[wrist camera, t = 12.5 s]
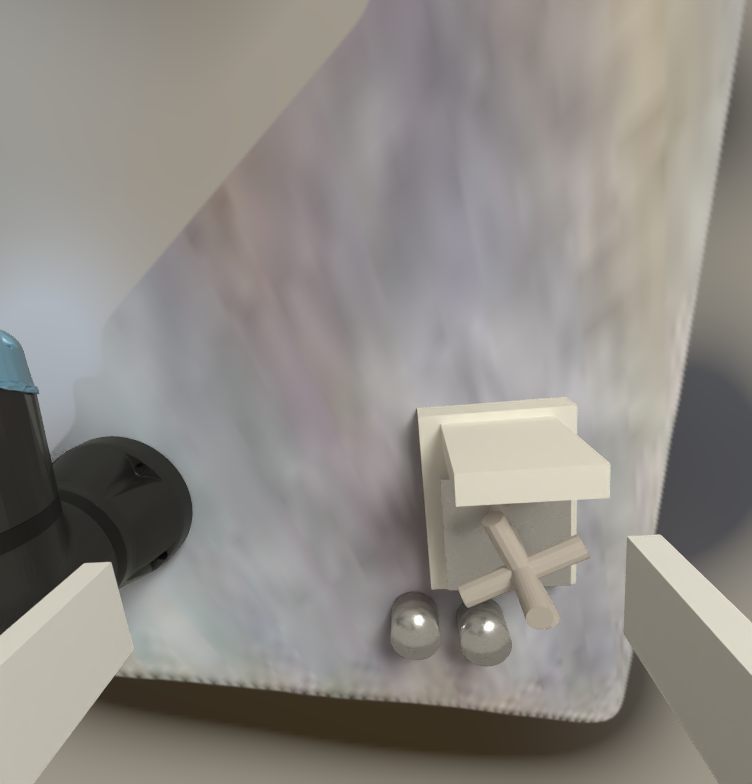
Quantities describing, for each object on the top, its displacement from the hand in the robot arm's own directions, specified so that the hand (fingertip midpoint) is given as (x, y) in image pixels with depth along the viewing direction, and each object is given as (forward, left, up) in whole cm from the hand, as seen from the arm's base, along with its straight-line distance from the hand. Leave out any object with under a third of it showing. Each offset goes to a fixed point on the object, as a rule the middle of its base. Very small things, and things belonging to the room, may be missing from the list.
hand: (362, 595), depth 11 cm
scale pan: (+9, -14, -27) cm, 32 cm away
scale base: (+9, -13, -32) cm, 35 cm away
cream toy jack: (+9, -15, -26) cm, 31 cm away
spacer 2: (+7, -28, -32) cm, 43 cm away
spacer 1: (0, -27, -32) cm, 42 cm away
